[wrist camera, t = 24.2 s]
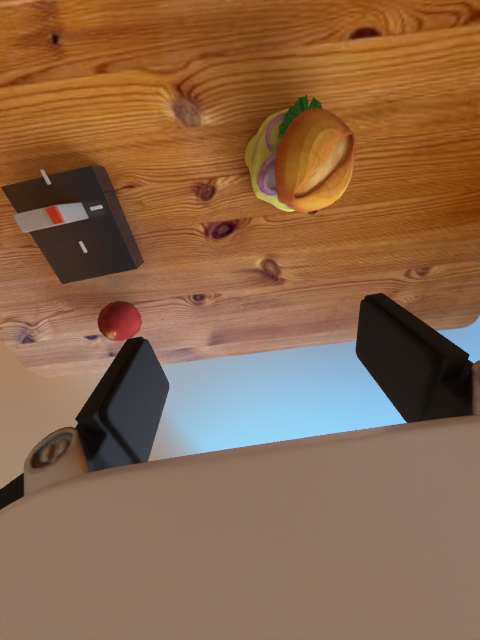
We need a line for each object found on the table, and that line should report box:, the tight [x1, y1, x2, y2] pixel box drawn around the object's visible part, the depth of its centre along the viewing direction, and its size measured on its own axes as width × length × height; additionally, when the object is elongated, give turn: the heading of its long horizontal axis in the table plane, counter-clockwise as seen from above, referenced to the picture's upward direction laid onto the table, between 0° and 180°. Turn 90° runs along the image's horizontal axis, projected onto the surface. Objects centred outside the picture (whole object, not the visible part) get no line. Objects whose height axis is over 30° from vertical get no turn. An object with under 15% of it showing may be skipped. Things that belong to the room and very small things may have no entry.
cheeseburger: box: [245, 95, 355, 215], centre depth 25 cm, size 10×11×10 cm
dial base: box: [1, 165, 144, 284], centre depth 30 cm, size 13×11×3 cm
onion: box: [98, 302, 142, 341], centre depth 34 cm, size 6×6×8 cm
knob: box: [12, 202, 89, 233], centre depth 25 cm, size 5×2×5 cm, turn 101°
